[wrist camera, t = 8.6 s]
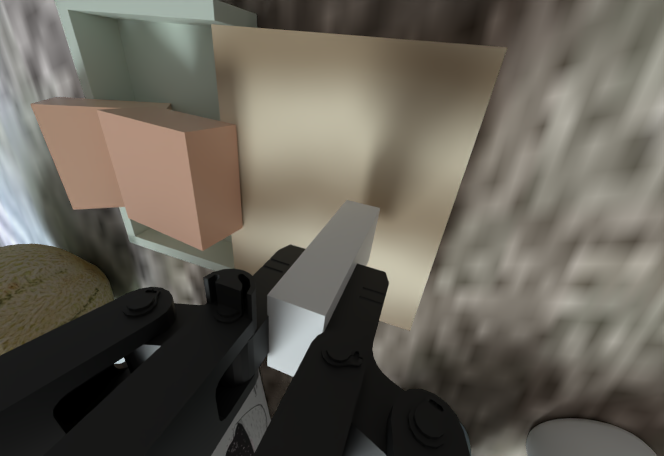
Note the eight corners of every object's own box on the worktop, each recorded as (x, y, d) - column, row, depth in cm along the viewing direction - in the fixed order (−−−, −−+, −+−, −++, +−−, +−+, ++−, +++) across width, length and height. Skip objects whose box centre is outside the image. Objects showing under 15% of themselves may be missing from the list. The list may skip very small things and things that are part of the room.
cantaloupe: (125, 239, 29) (-117, 360, 16) (157, 335, 36) (5, 469, 24) (30, 208, 33) (-227, 287, 20) (76, 300, 40) (-92, 401, 27)
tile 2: (165, 110, 16) (170, 103, 19) (30, 104, 14) (56, 96, 16) (182, 203, 19) (185, 186, 22) (73, 209, 17) (89, 190, 19)
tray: (115, 5, 18) (51, -10, 15) (256, 14, 15) (212, -2, 12) (165, 223, 26) (130, 242, 23) (263, 253, 23) (238, 278, 20)
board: (260, 36, 16) (211, 24, 12) (490, 56, 13) (507, 47, 9) (265, 244, 22) (234, 272, 19) (415, 288, 20) (409, 331, 16)
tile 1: (154, 106, 16) (96, 109, 14) (235, 124, 14) (184, 132, 12) (173, 201, 19) (128, 218, 16) (242, 227, 17) (202, 251, 14)
